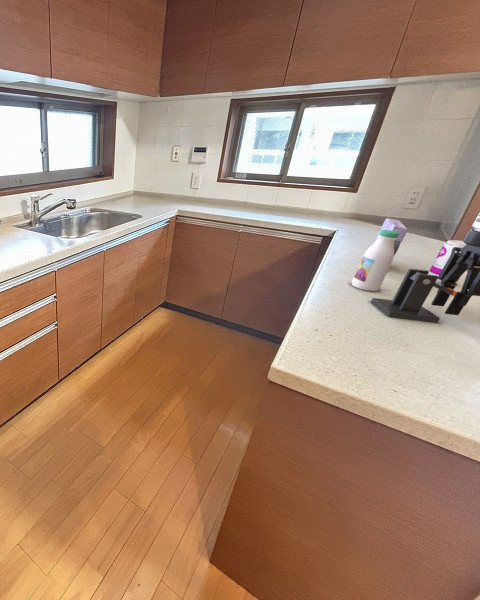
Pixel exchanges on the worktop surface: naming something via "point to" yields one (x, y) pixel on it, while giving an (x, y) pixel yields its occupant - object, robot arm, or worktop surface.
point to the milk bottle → (376, 262)
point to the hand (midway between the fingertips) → (444, 309)
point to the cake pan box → (394, 226)
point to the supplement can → (444, 257)
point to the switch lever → (438, 286)
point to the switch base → (410, 298)
